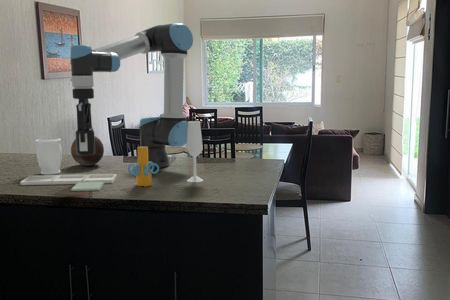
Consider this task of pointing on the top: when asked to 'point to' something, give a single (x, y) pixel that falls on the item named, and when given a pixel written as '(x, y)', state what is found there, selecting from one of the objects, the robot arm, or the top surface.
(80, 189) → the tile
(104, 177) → the tray
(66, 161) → the top surface
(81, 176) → the tray middle
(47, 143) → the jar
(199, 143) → the champagne flute
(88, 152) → the supplement bottle
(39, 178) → the tray
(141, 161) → the orange and blue toy
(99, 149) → the wooden sphere
